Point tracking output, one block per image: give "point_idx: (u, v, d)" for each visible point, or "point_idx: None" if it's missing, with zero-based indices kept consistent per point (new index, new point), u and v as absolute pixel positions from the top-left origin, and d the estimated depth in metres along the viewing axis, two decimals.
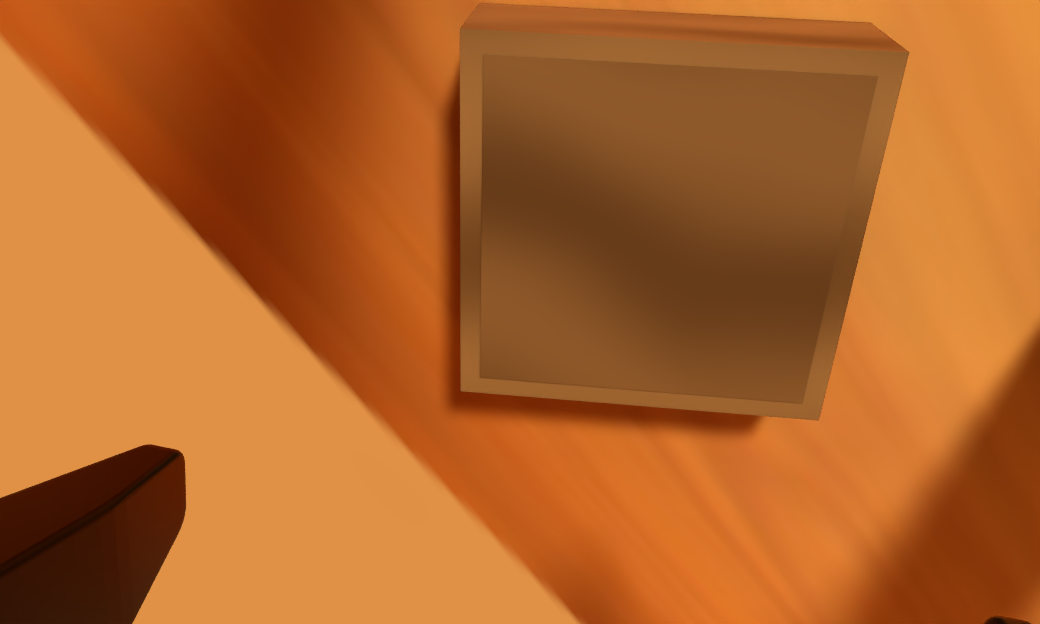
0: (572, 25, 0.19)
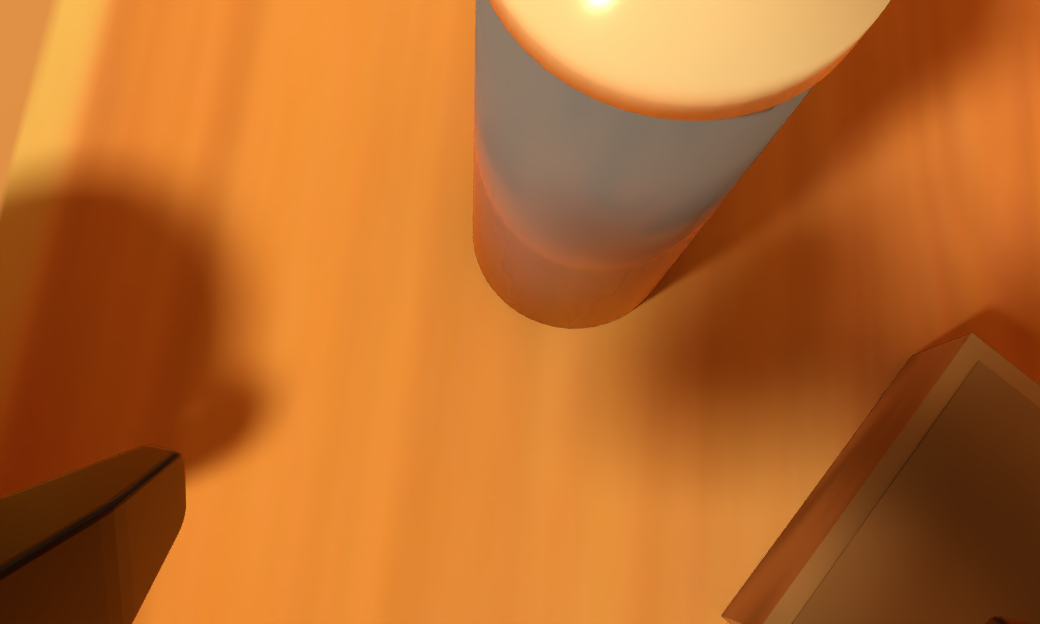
0: None
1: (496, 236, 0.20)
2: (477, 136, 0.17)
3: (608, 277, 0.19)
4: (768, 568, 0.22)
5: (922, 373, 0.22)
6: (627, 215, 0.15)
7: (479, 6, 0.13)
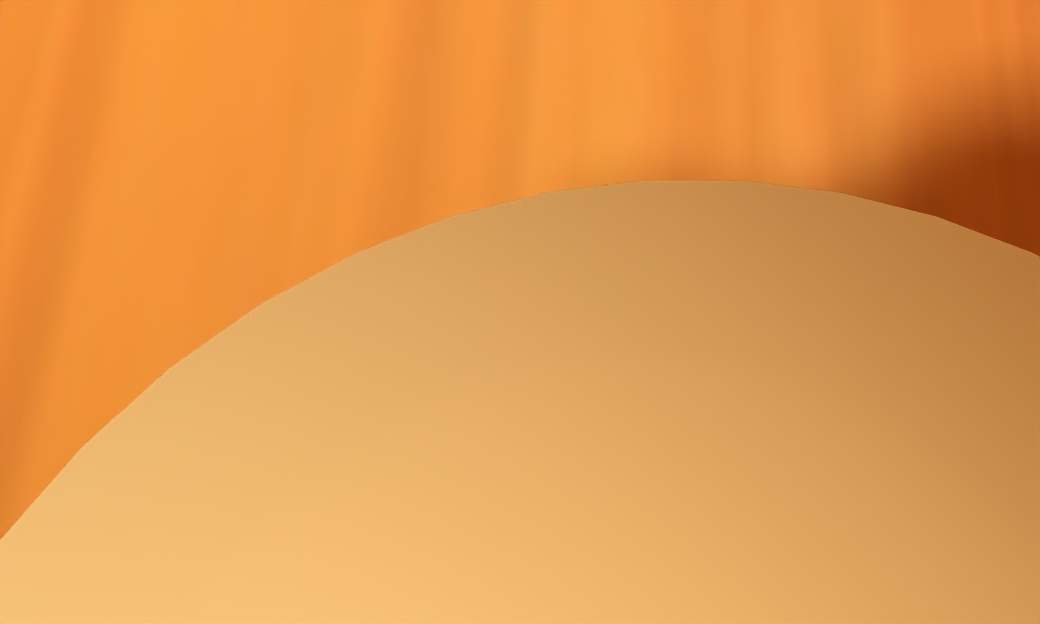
0: None
1: None
2: None
3: None
4: None
5: None
6: None
7: None
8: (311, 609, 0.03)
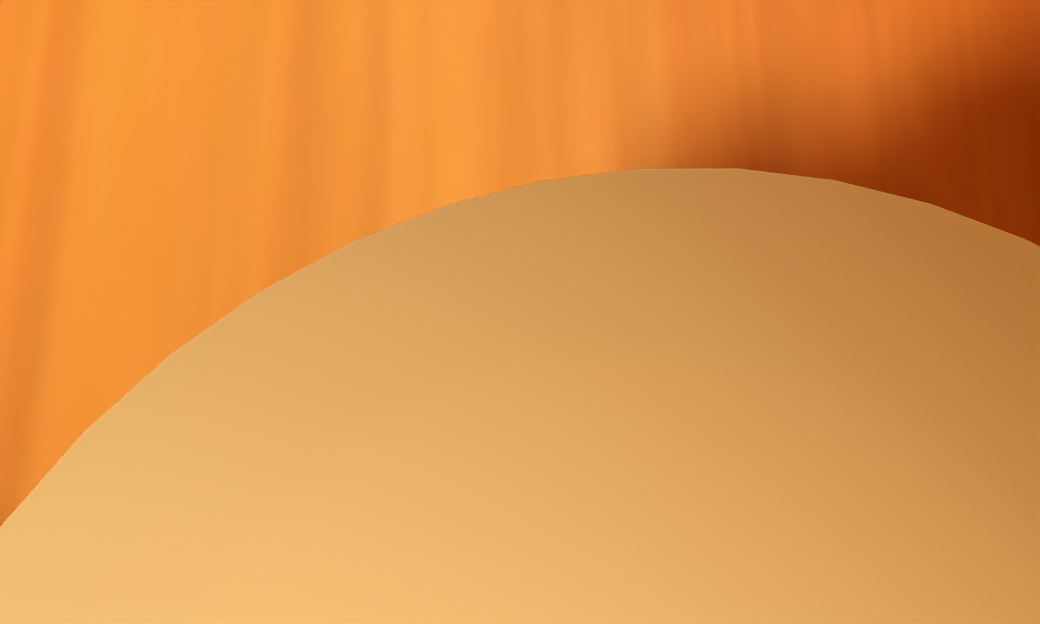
0: None
1: None
2: None
3: None
4: None
5: None
6: None
7: None
8: (310, 593, 0.03)
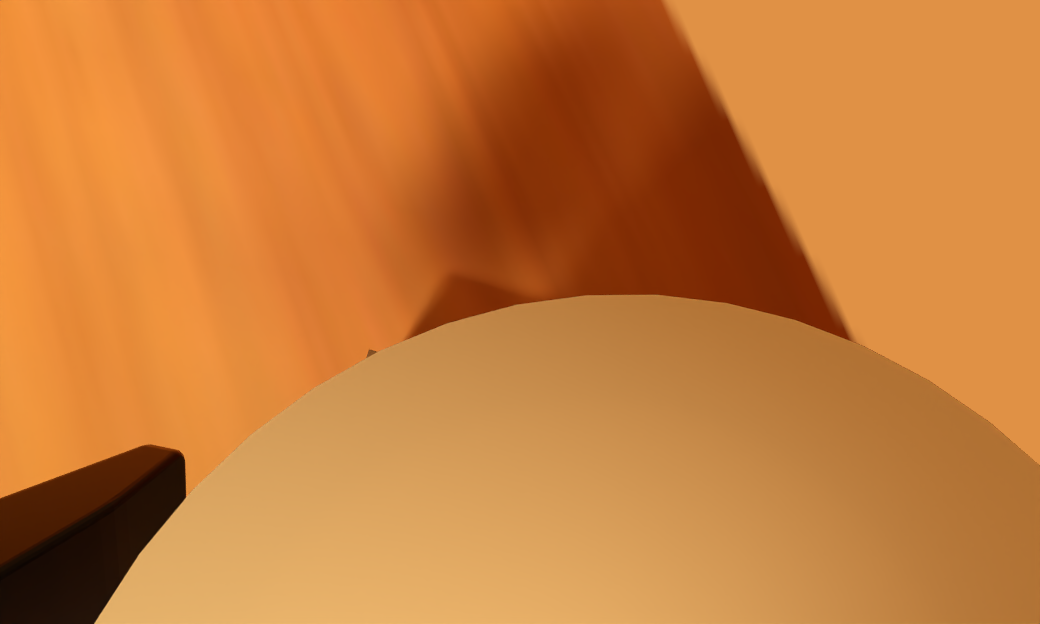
0: None
1: None
2: None
3: None
4: None
5: None
6: None
7: None
8: (351, 603, 0.04)
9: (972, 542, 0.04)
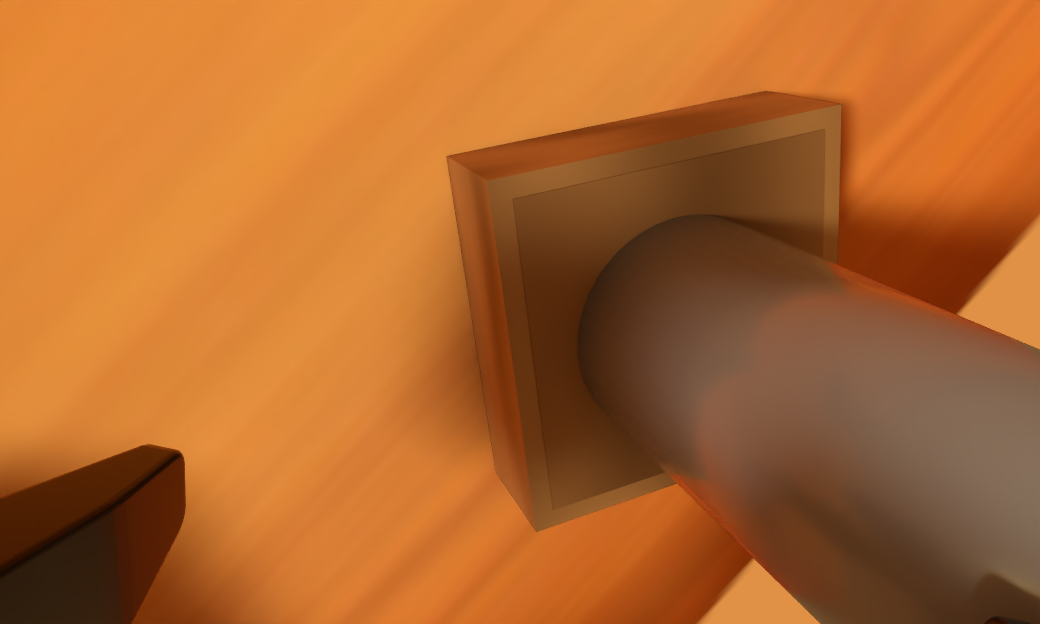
0: (511, 437, 0.22)
1: (699, 352, 0.16)
2: (855, 370, 0.13)
3: (702, 499, 0.16)
4: (521, 149, 0.20)
5: (771, 105, 0.22)
6: None
7: None
8: None
9: None
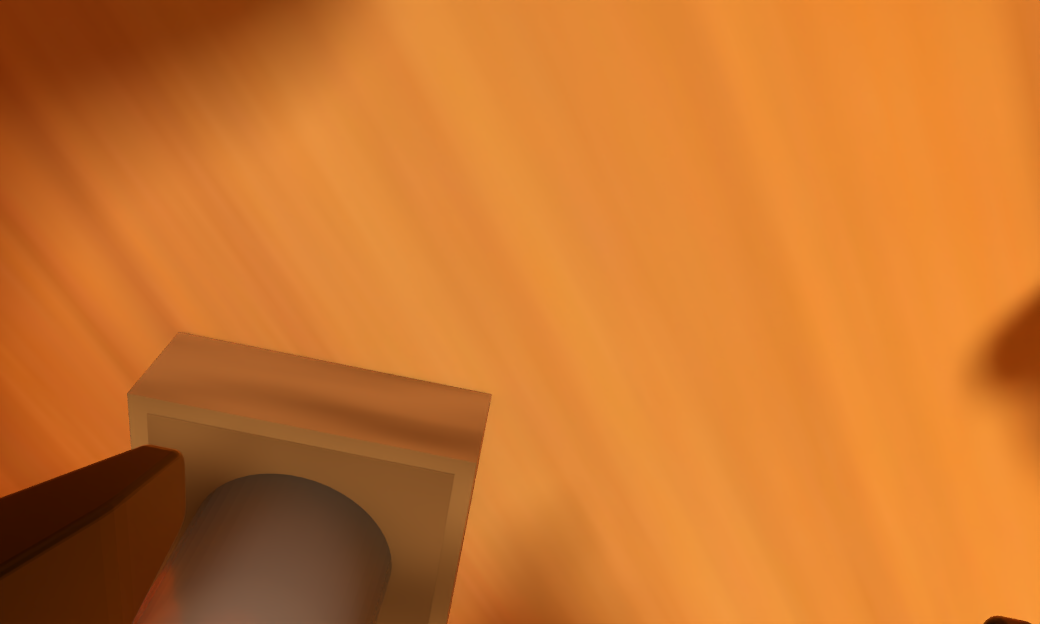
0: (229, 390, 0.23)
1: None
2: None
3: None
4: None
5: None
6: None
7: None
8: None
9: None
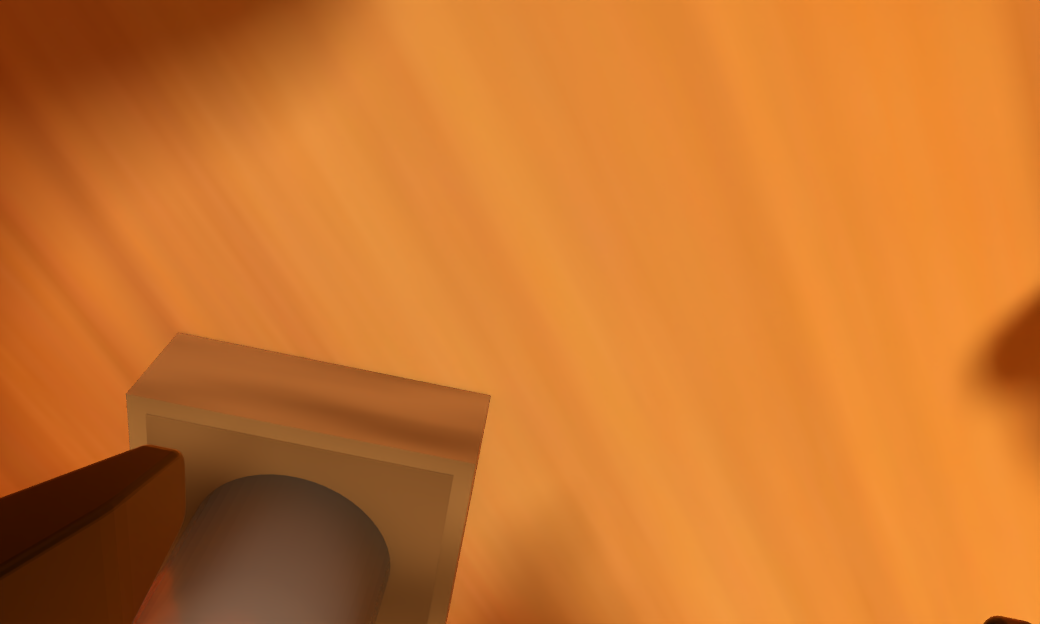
0: (228, 390, 0.23)
1: None
2: None
3: None
4: None
5: None
6: None
7: None
8: None
9: None
